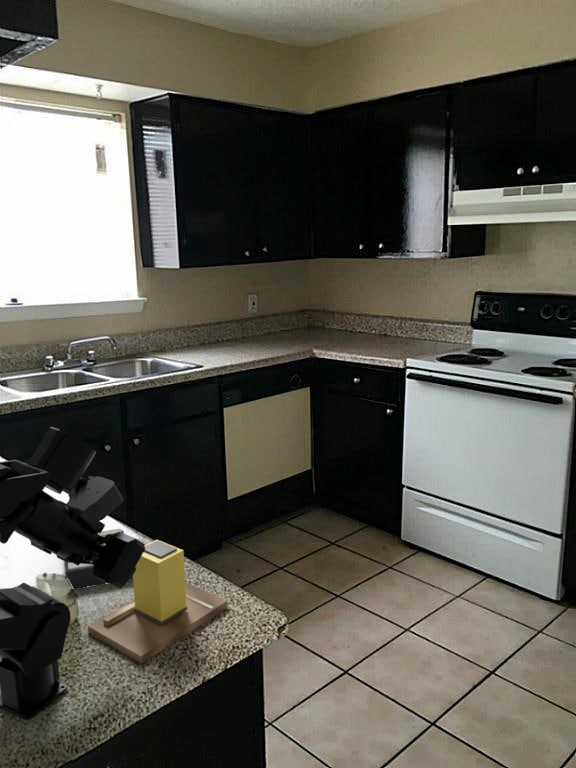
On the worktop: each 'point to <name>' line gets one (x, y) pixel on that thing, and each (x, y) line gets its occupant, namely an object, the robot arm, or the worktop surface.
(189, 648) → the worktop surface
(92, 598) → the worktop surface
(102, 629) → the subfloor panel
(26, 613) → the robot arm
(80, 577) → the red and grey box
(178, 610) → the yellow pillar grey top
